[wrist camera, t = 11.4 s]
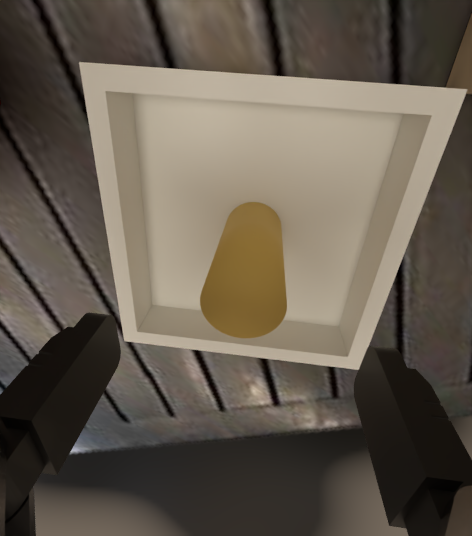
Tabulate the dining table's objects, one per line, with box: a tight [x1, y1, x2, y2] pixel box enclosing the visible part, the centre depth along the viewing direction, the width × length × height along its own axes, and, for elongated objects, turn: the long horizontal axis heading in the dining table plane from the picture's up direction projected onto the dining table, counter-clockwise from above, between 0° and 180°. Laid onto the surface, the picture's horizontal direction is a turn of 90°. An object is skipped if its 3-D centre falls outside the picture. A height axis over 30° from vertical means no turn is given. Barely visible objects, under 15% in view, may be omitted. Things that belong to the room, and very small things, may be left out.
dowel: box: [200, 202, 287, 338], centre depth 16 cm, size 4×4×8 cm
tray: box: [79, 62, 468, 370], centre depth 18 cm, size 16×16×4 cm
